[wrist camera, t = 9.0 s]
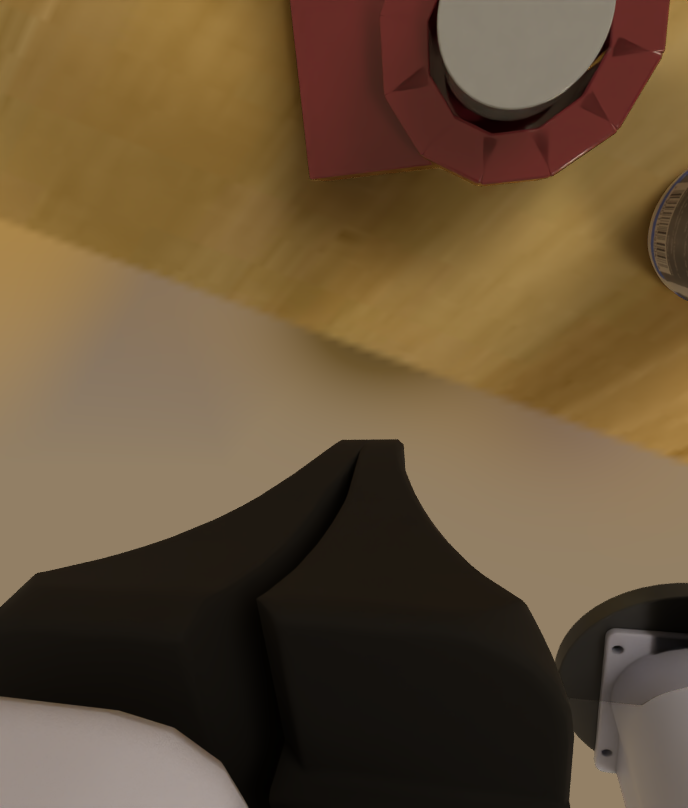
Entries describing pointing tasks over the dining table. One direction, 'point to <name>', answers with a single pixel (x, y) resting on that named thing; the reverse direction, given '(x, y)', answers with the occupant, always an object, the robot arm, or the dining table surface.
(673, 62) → the dining table surface
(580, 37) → the light grey cylinder
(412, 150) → the red socket plate
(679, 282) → the pill bottle
